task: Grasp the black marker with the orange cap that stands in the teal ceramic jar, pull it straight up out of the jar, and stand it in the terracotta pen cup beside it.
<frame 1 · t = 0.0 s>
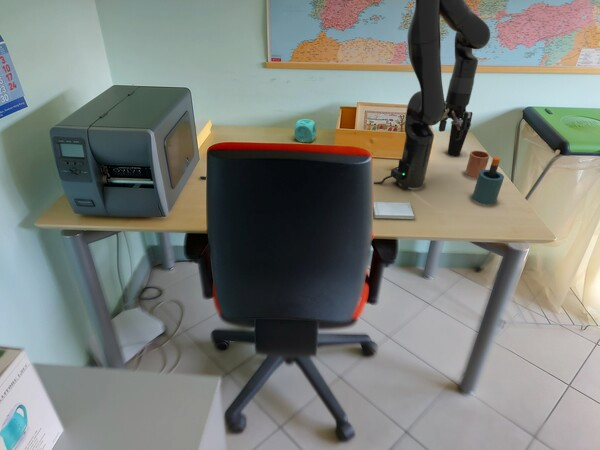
hand: (449, 135, 144), 17 cm above the table, tool pointing down, fingers open, 8 cm apart
jar: (483, 200, 140), on the table
pen cup: (473, 175, 155), on the table
decorative dice: (305, 139, 183), on the table
hard drive: (392, 212, 133), on the table
marker: (484, 198, 140), point 1 cm above the table, touching jar
drinking cup: (453, 154, 172), on the table
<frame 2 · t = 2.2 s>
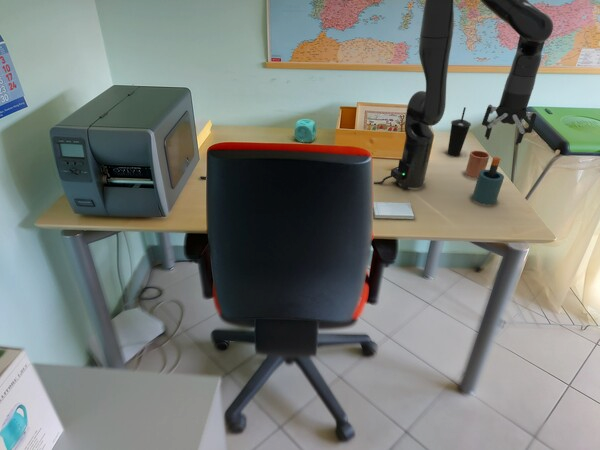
hand: (502, 141, 128), 22 cm above the table, tool pointing down, fingers open, 8 cm apart
nothing on the table moved.
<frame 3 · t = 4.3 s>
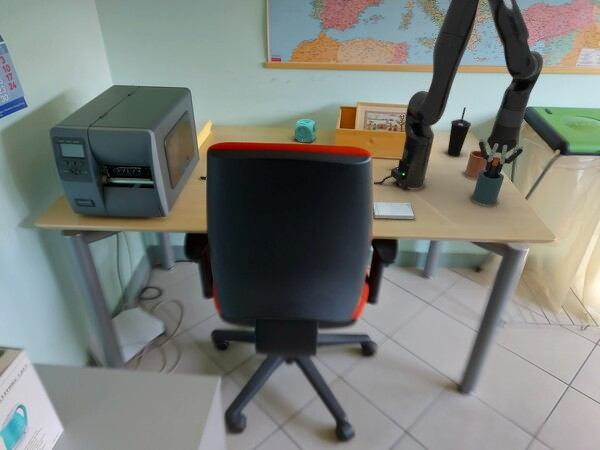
hand: (492, 171, 134), 11 cm above the table, tool pointing down, fingers closed on marker, 2 cm apart
marker: (484, 198, 140), point 1 cm above the table, touching gripper
everything else where it was.
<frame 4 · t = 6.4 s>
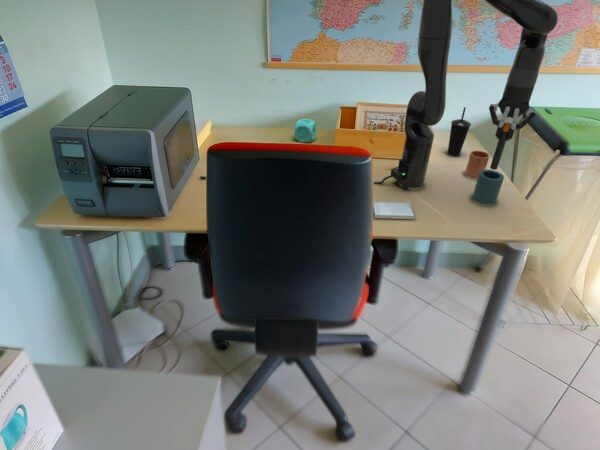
hand: (503, 138, 127), 23 cm above the table, tool pointing down, fingers closed on marker
marker: (493, 168, 133), point 12 cm above the table, touching gripper
everything else where it was.
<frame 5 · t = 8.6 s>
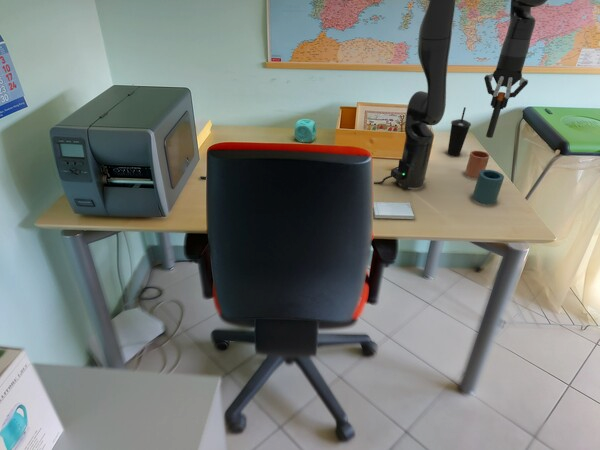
hand: (497, 107, 136), 28 cm above the table, tool pointing down, fingers closed on marker
marker: (489, 136, 141), point 18 cm above the table, touching gripper
everything else where it was.
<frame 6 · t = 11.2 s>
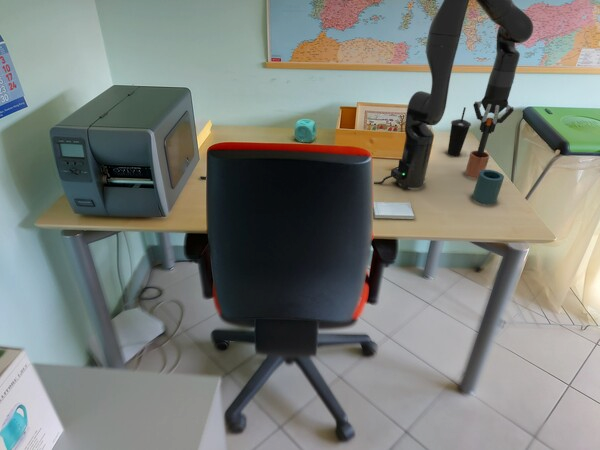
hand: (486, 131, 145), 18 cm above the table, tool pointing down, fingers closed on marker
marker: (478, 157, 151), point 7 cm above the table, touching gripper
everything else where it was.
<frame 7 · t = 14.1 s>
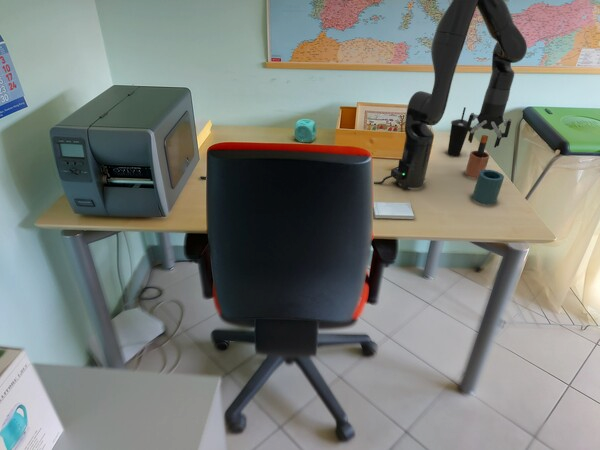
hand: (482, 144, 148), 13 cm above the table, tool pointing down, fingers open, 8 cm apart
marker: (474, 173, 155), point 1 cm above the table, touching pen cup
everything else where it was.
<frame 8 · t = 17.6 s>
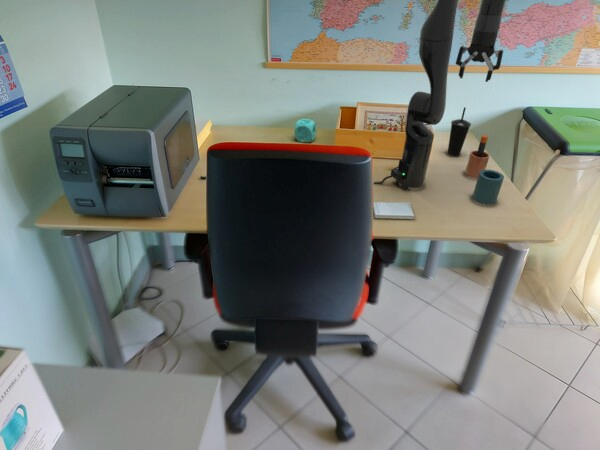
hand: (473, 79, 142), 34 cm above the table, tool pointing down, fingers open, 8 cm apart
nothing on the table moved.
at the end: marker 0.1 cm off-centre in the pen cup, point 0.8 cm above the pen cup's base; marker moved 19.0 cm from its start; the gripper is holding nothing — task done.
